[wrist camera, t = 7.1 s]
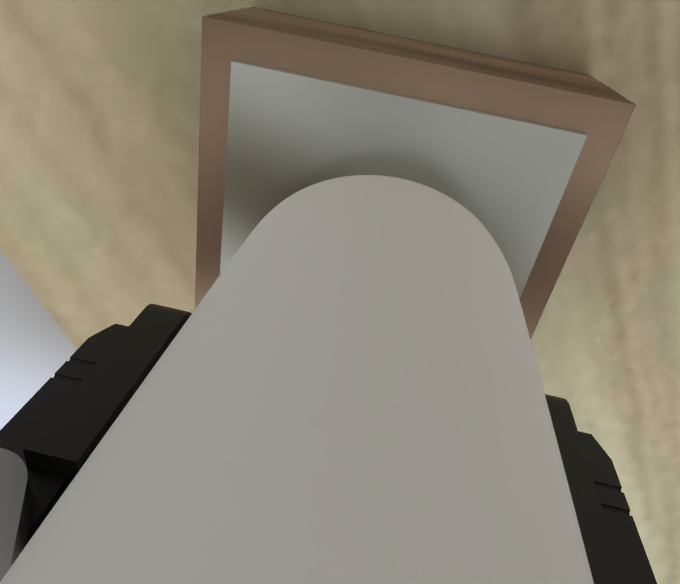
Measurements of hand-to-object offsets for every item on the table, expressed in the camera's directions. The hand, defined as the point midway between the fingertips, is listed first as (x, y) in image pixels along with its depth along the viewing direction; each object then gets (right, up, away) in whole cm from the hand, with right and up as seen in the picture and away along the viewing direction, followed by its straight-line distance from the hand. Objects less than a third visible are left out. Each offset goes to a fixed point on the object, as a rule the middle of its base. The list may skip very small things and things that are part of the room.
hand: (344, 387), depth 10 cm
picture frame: (+1, +5, +8) cm, 10 cm away
